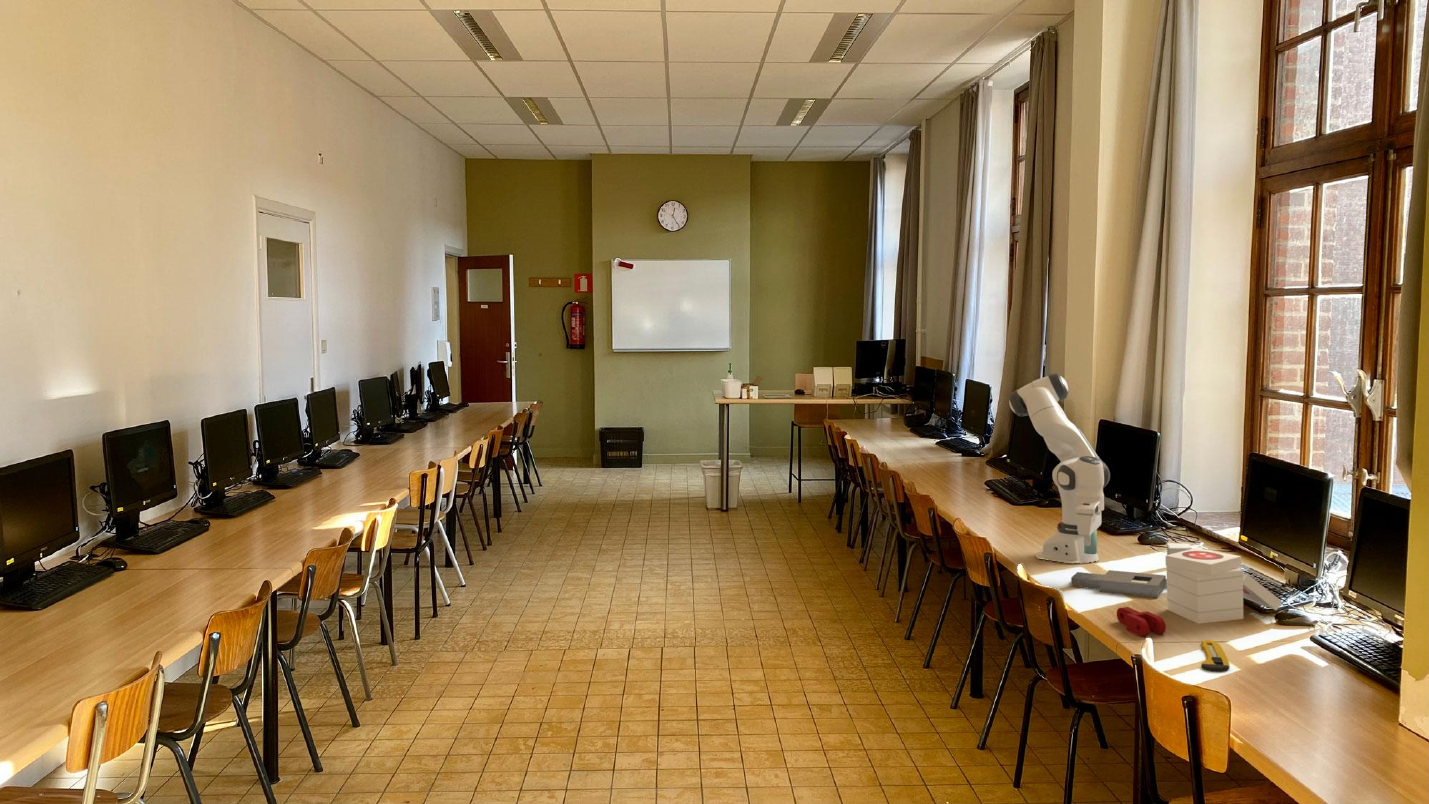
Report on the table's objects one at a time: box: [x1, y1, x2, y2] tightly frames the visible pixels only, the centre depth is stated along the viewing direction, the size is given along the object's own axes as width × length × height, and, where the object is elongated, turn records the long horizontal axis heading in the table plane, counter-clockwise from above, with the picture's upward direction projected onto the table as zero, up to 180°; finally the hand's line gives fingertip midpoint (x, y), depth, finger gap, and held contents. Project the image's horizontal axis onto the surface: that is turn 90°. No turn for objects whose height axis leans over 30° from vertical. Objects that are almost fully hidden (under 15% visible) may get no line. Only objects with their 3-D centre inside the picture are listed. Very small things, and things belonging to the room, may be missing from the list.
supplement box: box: [1166, 542, 1194, 555], centre depth 325 cm, size 7×7×13 cm
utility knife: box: [1200, 639, 1230, 673], centre depth 254 cm, size 7×22×2 cm, turn 160°
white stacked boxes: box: [1165, 547, 1283, 625], centre depth 290 cm, size 19×30×18 cm, turn 98°
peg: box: [1084, 529, 1098, 554], centre depth 326 cm, size 4×4×8 cm
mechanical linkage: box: [1116, 606, 1167, 638], centre depth 280 cm, size 16×7×5 cm, turn 12°
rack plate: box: [1070, 569, 1167, 599], centre depth 322 cm, size 28×14×4 cm, turn 55°
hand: (1090, 543), depth 326 cm, fingers closed on peg, 4 cm apart
